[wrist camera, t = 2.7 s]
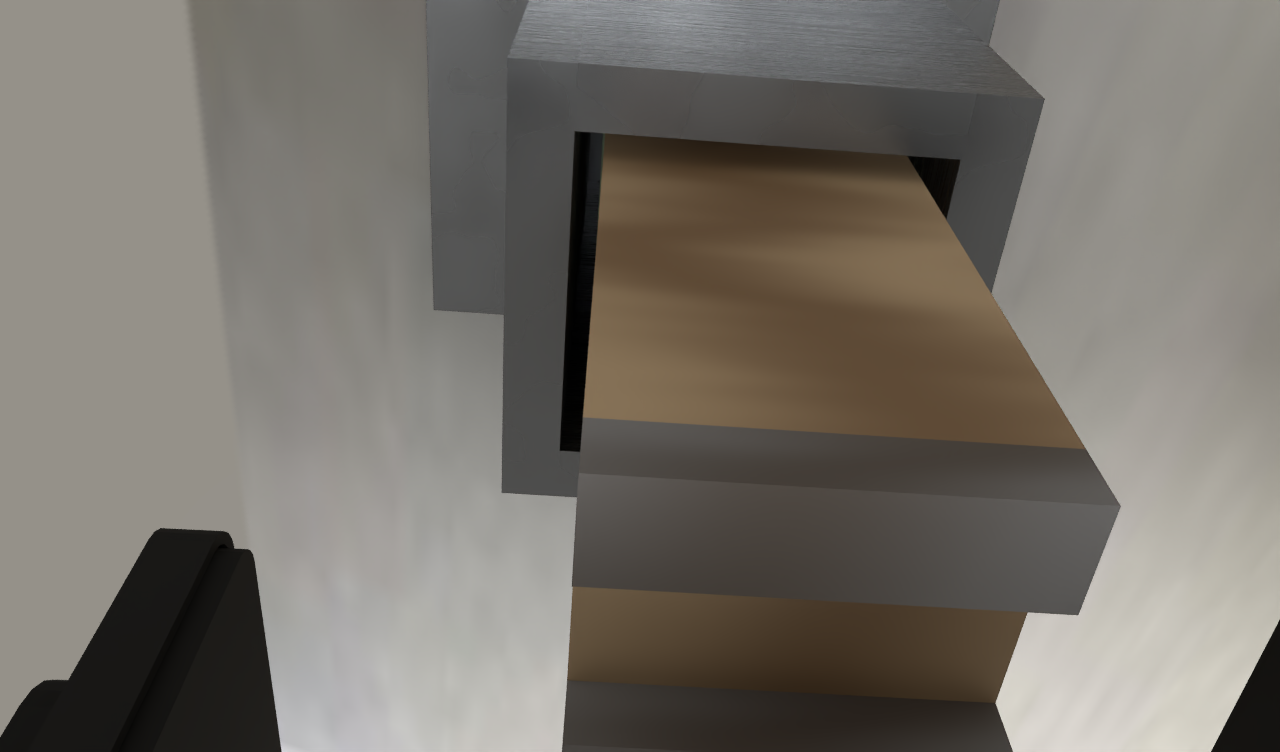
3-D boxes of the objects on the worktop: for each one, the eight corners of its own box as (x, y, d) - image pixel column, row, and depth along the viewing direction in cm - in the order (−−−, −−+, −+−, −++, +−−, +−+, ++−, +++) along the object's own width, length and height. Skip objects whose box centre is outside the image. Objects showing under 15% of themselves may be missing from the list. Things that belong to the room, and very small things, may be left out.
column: (813, -4, 24) (1128, 500, 9) (784, 184, 27) (992, 848, 11) (614, -20, 24) (573, 468, 9) (602, 170, 27) (552, 828, 11)
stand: (1025, -205, 24) (1365, -134, 13) (905, 315, 31) (1057, 658, 19) (431, -258, 23) (242, -232, 12) (442, 284, 30) (328, 619, 19)
